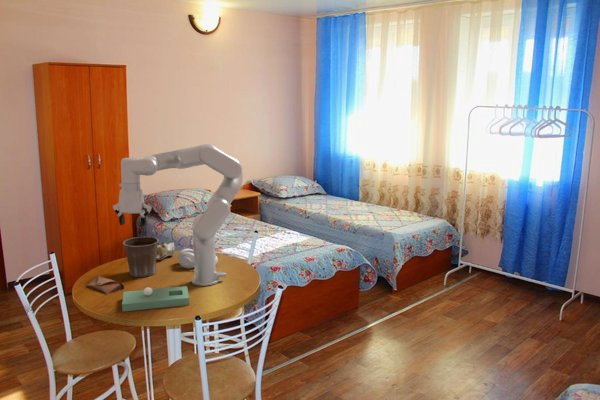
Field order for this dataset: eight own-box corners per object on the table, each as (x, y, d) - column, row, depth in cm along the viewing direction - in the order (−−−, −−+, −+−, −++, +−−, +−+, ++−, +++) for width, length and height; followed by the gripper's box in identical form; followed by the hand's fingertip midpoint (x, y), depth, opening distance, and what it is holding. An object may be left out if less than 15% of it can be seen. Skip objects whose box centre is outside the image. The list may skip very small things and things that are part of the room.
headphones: (178, 270, 254) (219, 273, 260) (179, 255, 253) (220, 257, 259) (176, 259, 271) (214, 261, 277) (178, 245, 270) (216, 247, 276)
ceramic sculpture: (179, 240, 277) (155, 248, 266) (181, 256, 279) (157, 264, 268) (167, 237, 283) (143, 244, 272) (168, 252, 286) (145, 260, 274)
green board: (187, 292, 228) (186, 286, 227) (189, 304, 214) (189, 297, 214) (124, 298, 221) (123, 291, 220) (122, 311, 208) (121, 304, 207)
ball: (152, 293, 218) (152, 285, 218) (152, 296, 215) (152, 288, 214) (144, 294, 217) (143, 286, 217) (143, 297, 214) (143, 289, 213)
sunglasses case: (82, 286, 235) (88, 272, 236) (95, 289, 240) (101, 275, 242) (107, 294, 225) (113, 280, 226) (120, 298, 230) (126, 283, 232)
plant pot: (154, 279, 244) (152, 246, 241) (120, 279, 244) (117, 245, 241) (164, 268, 260) (162, 236, 257) (131, 267, 260) (129, 236, 257)
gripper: (107, 187, 223) (110, 226, 226) (146, 188, 221) (148, 228, 224) (116, 184, 230) (118, 222, 233) (153, 186, 228) (155, 224, 231)
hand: (132, 225), depth 229 cm, fingers open, 9 cm apart
